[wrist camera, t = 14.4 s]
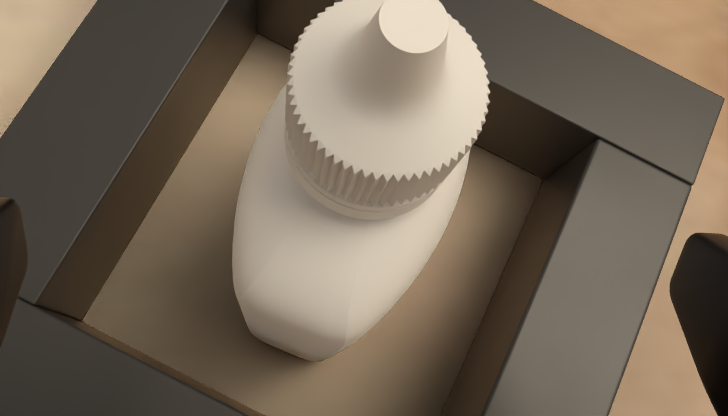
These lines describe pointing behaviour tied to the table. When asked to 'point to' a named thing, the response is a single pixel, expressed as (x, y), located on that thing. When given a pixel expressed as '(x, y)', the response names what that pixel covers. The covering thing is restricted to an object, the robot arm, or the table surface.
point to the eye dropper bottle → (355, 171)
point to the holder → (499, 135)
